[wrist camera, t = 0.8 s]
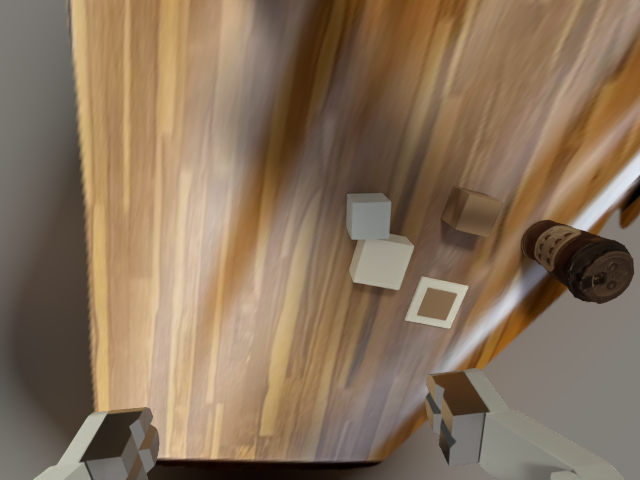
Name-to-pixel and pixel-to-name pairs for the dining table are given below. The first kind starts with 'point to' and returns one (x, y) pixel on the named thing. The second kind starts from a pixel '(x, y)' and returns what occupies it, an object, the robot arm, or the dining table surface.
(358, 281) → the plinth block
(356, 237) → the grey cube
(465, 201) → the walnut cube
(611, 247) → the coffee cup
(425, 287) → the tile
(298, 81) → the dining table surface
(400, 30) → the dining table surface
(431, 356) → the dining table surface
